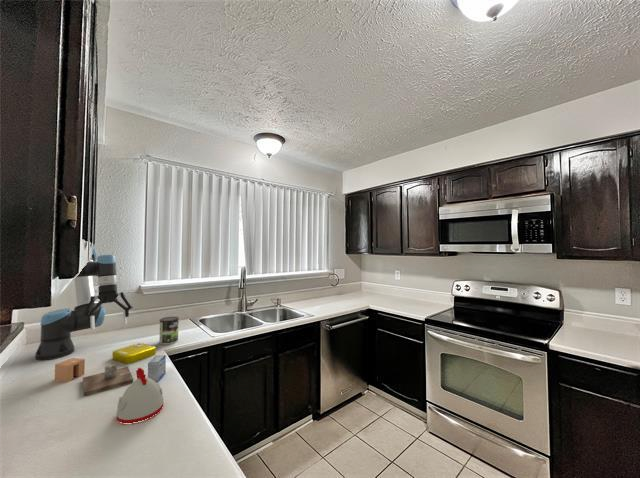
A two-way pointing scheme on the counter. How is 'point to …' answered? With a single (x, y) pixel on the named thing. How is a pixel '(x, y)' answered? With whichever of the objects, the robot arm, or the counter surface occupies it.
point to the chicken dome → (140, 400)
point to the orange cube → (69, 369)
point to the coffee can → (168, 330)
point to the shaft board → (107, 379)
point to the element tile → (133, 353)
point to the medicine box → (157, 367)
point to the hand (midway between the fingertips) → (109, 326)
